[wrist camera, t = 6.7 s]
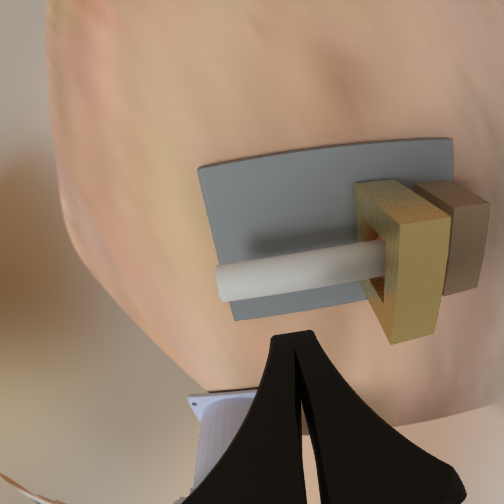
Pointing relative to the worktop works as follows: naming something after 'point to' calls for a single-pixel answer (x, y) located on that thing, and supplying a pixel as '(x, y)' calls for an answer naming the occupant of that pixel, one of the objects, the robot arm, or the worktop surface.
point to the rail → (326, 222)
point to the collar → (403, 256)
